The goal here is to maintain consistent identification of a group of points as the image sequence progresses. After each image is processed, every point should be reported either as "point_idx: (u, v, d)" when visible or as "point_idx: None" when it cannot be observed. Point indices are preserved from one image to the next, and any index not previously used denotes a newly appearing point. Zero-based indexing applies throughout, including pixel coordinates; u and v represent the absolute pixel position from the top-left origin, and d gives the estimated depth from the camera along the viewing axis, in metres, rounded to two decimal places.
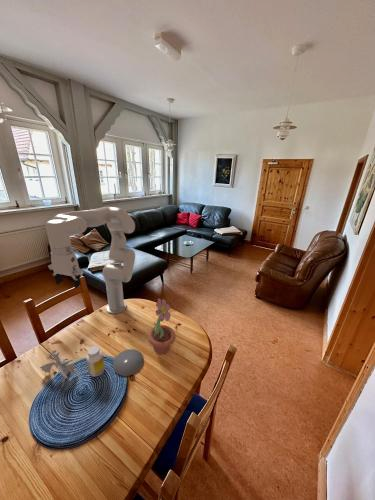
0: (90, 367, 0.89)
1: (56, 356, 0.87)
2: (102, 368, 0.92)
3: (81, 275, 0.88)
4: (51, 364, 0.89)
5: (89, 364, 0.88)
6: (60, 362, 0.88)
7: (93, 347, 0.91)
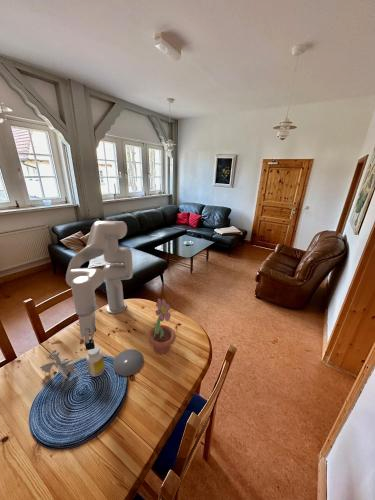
0: (90, 367, 0.89)
1: (56, 356, 0.87)
2: (102, 368, 0.92)
3: None
4: (51, 364, 0.89)
5: (89, 364, 0.88)
6: (60, 362, 0.88)
7: None
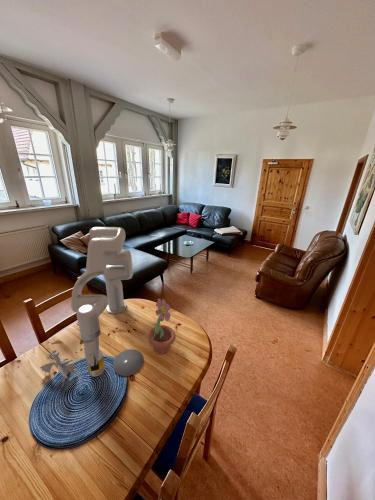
0: None
1: (56, 356, 0.87)
2: (102, 368, 0.92)
3: None
4: (51, 364, 0.89)
5: (89, 364, 0.88)
6: (60, 362, 0.88)
7: None
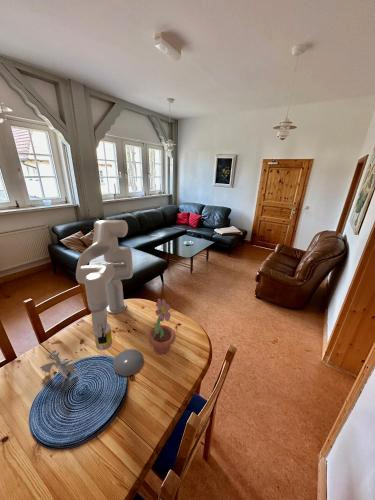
0: (97, 340, 0.85)
1: (56, 356, 0.87)
2: (110, 342, 0.89)
3: None
4: (51, 364, 0.89)
5: (96, 336, 0.85)
6: (60, 362, 0.88)
7: None
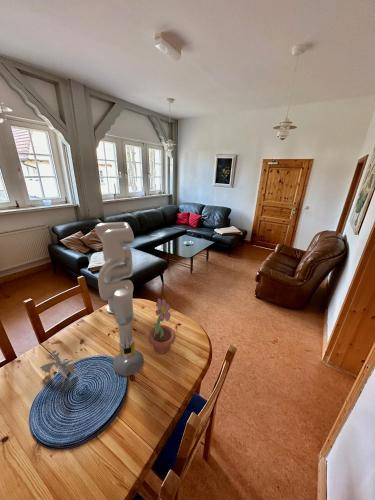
0: (123, 350, 0.92)
1: (56, 356, 0.87)
2: (133, 352, 0.95)
3: None
4: (51, 364, 0.89)
5: (122, 347, 0.91)
6: (60, 362, 0.88)
7: None
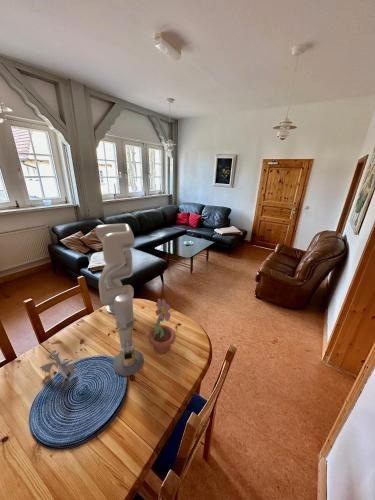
0: (123, 357, 0.93)
1: (56, 356, 0.87)
2: (134, 358, 0.97)
3: None
4: (51, 364, 0.89)
5: (123, 354, 0.93)
6: (60, 362, 0.88)
7: None
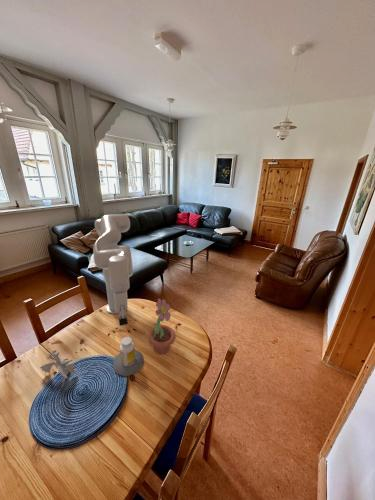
0: (123, 357, 0.93)
1: (56, 356, 0.87)
2: (134, 358, 0.97)
3: None
4: (51, 364, 0.89)
5: (123, 354, 0.93)
6: (60, 362, 0.88)
7: (126, 338, 0.95)
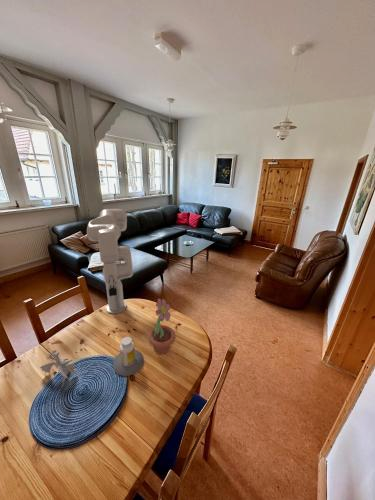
0: (123, 357, 0.93)
1: (56, 356, 0.87)
2: (134, 358, 0.97)
3: None
4: (51, 364, 0.89)
5: (123, 354, 0.93)
6: (60, 362, 0.88)
7: (126, 338, 0.95)
